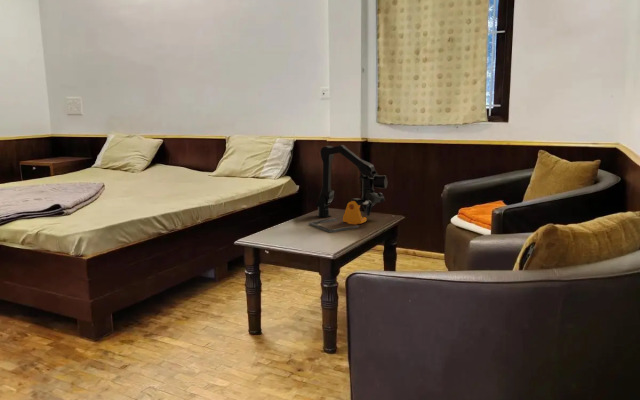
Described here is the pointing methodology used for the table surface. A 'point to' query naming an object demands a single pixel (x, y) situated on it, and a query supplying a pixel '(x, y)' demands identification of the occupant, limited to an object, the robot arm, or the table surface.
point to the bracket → (353, 214)
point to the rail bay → (329, 229)
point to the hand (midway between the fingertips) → (367, 215)
